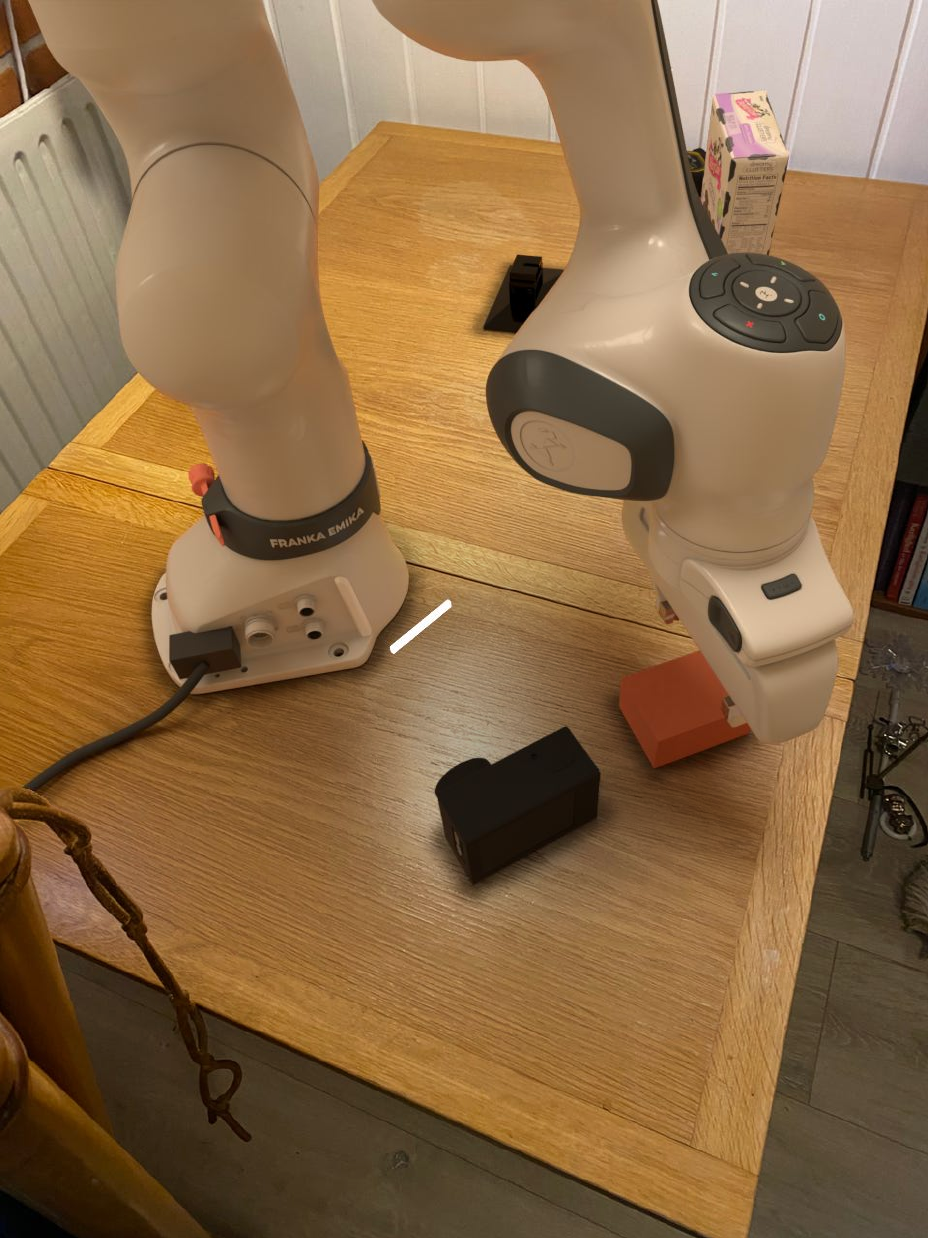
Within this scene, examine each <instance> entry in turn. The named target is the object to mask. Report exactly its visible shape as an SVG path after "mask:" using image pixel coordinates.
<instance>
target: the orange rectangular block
mask: <svg viewBox="0 0 928 1238" xmlns="http://www.w3.org/2000/svg"><path fill="white" fill-rule="evenodd" d="M620 680H621V681H620V690H619V700H618V701H619V702H618V707H619V709H620V711H621V713H622V714H623V715H622V716H623V717H624V718H625V720H626V722H627V724H628V726H629V727H630V729H631V731H632V732H633V735H634V736H635V738H636V740H637V741H638V743H639V745H640V747H641V748H642V750H643V752H644V754H645V756H646V758H647V760H648V761H649V763H650V765H651V766H652V768H653V769H655V770H656V769H657V768H659V767H662V766H665V765H668V764H670V763H674V762H675V761H679V760H681V759H684V758H687V757H689V756H692V755H695V754H698V753H700V752H703V751H705V750H709V749H711V748H714V747H716V746H718V745H721V744H724V743H727V742H730V741H733V740H735V739H737V738H741V737H743V736H745V735H748V734H750V732H751V728H750V727H749V725H748V724H747V723H745V724H742V725H740V726H737V727H731V726H730V724H729V723H728V721H727V719H726V718H725V716H724V714H723V713H722V711H721V709H720V708H721V707H722V704H721V703H722V699H723V698H724V697H727V696H729V694H728V693H727V691H726V690H725V688H724V687H723V685H722V684H721V682H720V681H719V679H718V678H717V676H716V675H715V673H714V672H713V670H712V668H711V667H710V665H709V664H708V662H707V661H706V659H705V658H704V656H703V655H702V653H701V652H700V650H699V649H698V650H696V651H693V652H690V653H688V654H685V655H682V656H679V657H676V658H674V659H671V660H668V661H665V662H662V663H660V664H656V665H653V666H651V667H648V668H645V669H643V670H639V671H637V672H634V673H630V674H628V675H626V676H623V677H621V679H620Z"/></svg>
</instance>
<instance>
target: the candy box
mask: <svg viewBox="0 0 928 1238" xmlns="http://www.w3.org/2000/svg"><path fill="white" fill-rule="evenodd" d="M708 125H709V126H708V132H707V140H706V141H707V142H706V150H705V151H706V158H705V166H704V176H703V182H702V191H701V197H699V198H700V200H701V202H702V205H703V207H704V209H705V211H706V213H707V215H708V216H709V218H710V220H711V222H712V224H713V225H714V227H715V229H716V231H717V233H718V234H719V236H720V238H721V240H722V242H723V244H724V246H725V248H726V250H727V253H728V254H733V253H758V254H765V255H769V256H770V252H771V251H770V250H771V246H772V243H773V242H772V241H773V236H774V231H775V227H776V222H777V218H778V213H779V209H780V203H781V199H782V195H783V194H782V193H783V188H784V184H785V180H786V174H787V170H788V164H789V159H790V151H789V149H787V147H786V144H785V141H784V139H783V135H782V132H781V129H780V127H779V124H778V121H777V118H776V115H775V113H774V110H773V107H772V105H771V102H770V99H769V97H768V92H767V90H766V89H764V90H749V91H739V92H738V91H737V92H723V93H713V94H712V101H711V109H710V116H709V124H708Z"/></svg>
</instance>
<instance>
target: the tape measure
mask: <svg viewBox="0 0 928 1238" xmlns="http://www.w3.org/2000/svg"><path fill="white" fill-rule="evenodd" d="M687 154H688V160H689V164H690V169H691V173H692V177H693V181H694V184H695V187H696V190H697V193H698V195H699V198H701V191H702V182H703V176H704V166H705V158H706V150H705V149H704V148H702V147H696V148H694V149H692V150H687Z"/></svg>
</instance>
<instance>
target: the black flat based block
mask: <svg viewBox="0 0 928 1238" xmlns="http://www.w3.org/2000/svg"><path fill="white" fill-rule="evenodd" d="M564 270H565V269H561V268H550V267H544V262H543V256H540V255H539V256H538V255H527V254H516V256H515V259H514V260H513V262H512V264H511V265H509V266H508V268H507V271H506V273H505V275H504V278H503V280H502V283H501V284H500V287H499V289H498V291H497V293H496V295H495V299H494V301H493V302H492V305H491V308H490V310H489V312H488V314H487V316H486V317H485V318H484V320H483V323H482V325H481V327H482V330H483V331H485V332H494V333H495V332H496V333H506V334H514V335H515V334H516V333H517V332H518V330H519V329H520V328H521V326H522V325H523V324H524V322H525V321H526V320H527V318H528V317H529V316H530V314H531V313H532V312H533V311H534V310H535V309H536V308H537V307H538V306H539V304H540V303H541V302H542V300H543V299H544V298H545V296H546V295H547V294H548V292H549V291H550V289H551V288H552V287H553V285H554V284H555V283H556V281H557V280H558V279H559V277H560V276H561V274H562V273H563V271H564Z"/></svg>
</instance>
